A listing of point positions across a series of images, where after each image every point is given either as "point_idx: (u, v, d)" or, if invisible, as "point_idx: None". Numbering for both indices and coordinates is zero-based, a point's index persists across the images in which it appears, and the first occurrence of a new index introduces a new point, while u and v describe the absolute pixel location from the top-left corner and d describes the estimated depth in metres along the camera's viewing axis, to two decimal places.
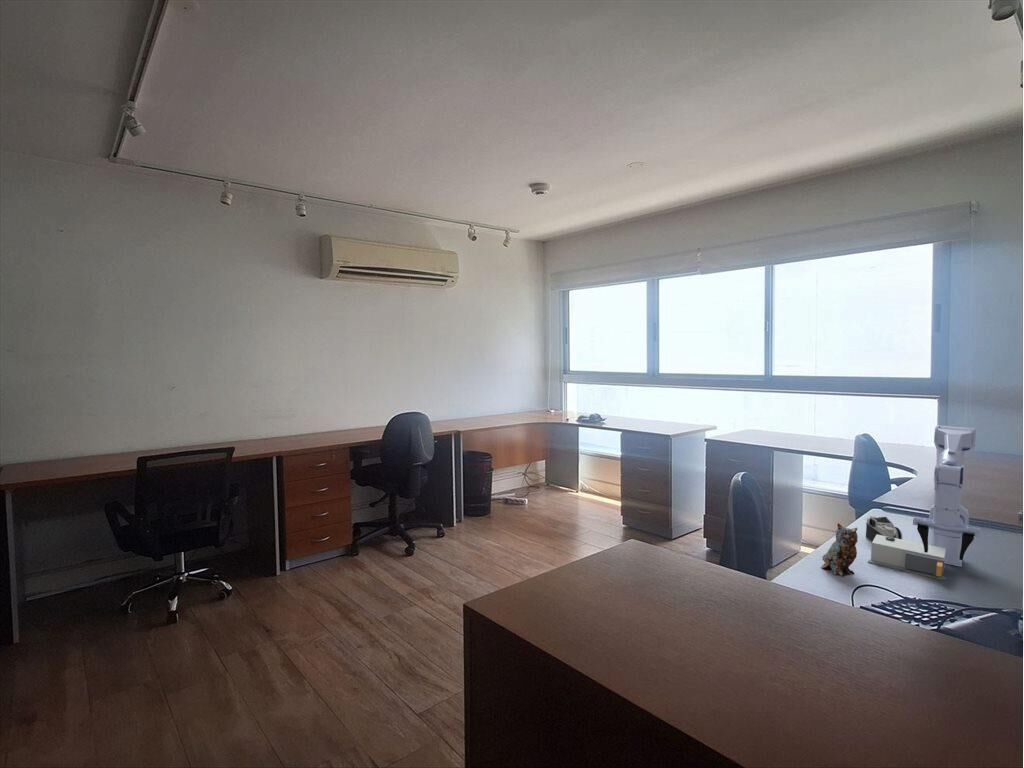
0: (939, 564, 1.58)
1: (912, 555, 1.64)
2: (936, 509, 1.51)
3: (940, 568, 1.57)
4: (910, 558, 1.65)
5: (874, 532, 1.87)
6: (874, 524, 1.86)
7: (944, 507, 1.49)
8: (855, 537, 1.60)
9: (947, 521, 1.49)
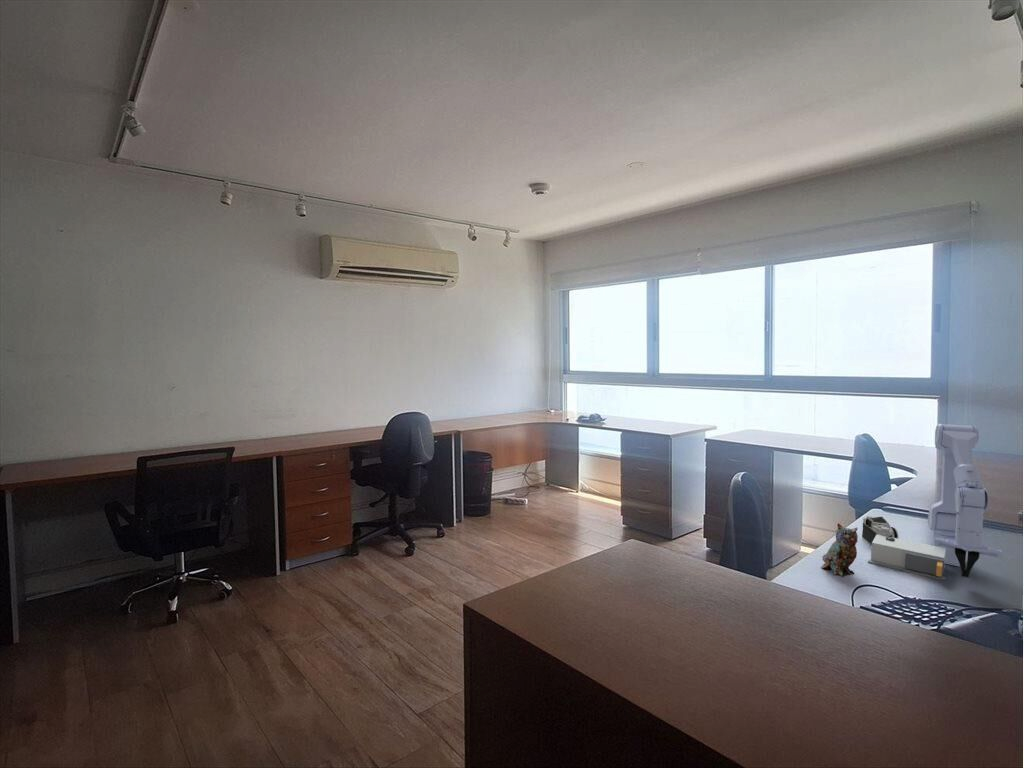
0: (939, 564, 1.58)
1: (912, 555, 1.64)
2: (958, 531, 1.53)
3: (940, 568, 1.57)
4: (910, 558, 1.65)
5: (870, 532, 1.87)
6: (870, 524, 1.86)
7: (969, 529, 1.51)
8: (855, 537, 1.60)
9: (969, 542, 1.51)
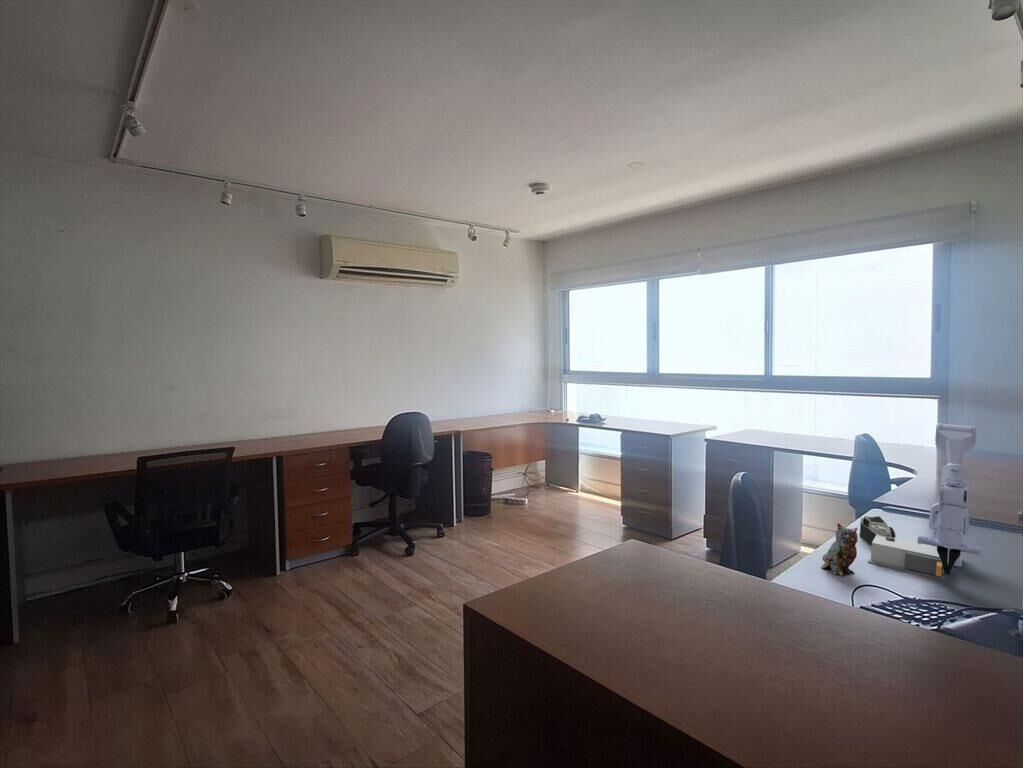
0: (939, 564, 1.58)
1: (912, 555, 1.64)
2: (940, 529, 1.56)
3: (940, 568, 1.57)
4: (910, 558, 1.65)
5: (867, 532, 1.87)
6: (868, 524, 1.86)
7: (948, 527, 1.54)
8: (855, 537, 1.60)
9: (951, 540, 1.54)
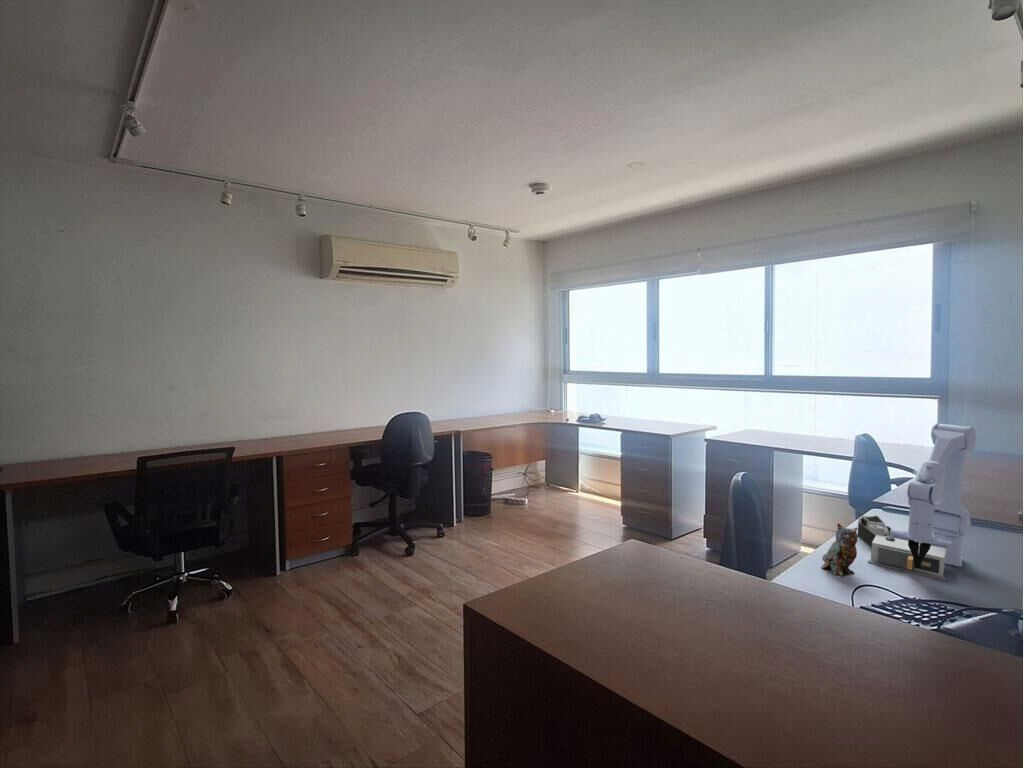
0: (910, 557, 1.63)
1: (885, 549, 1.69)
2: (911, 523, 1.60)
3: (911, 561, 1.61)
4: (883, 552, 1.69)
5: (865, 532, 1.87)
6: (866, 523, 1.87)
7: (915, 521, 1.59)
8: (855, 537, 1.60)
9: (921, 534, 1.58)
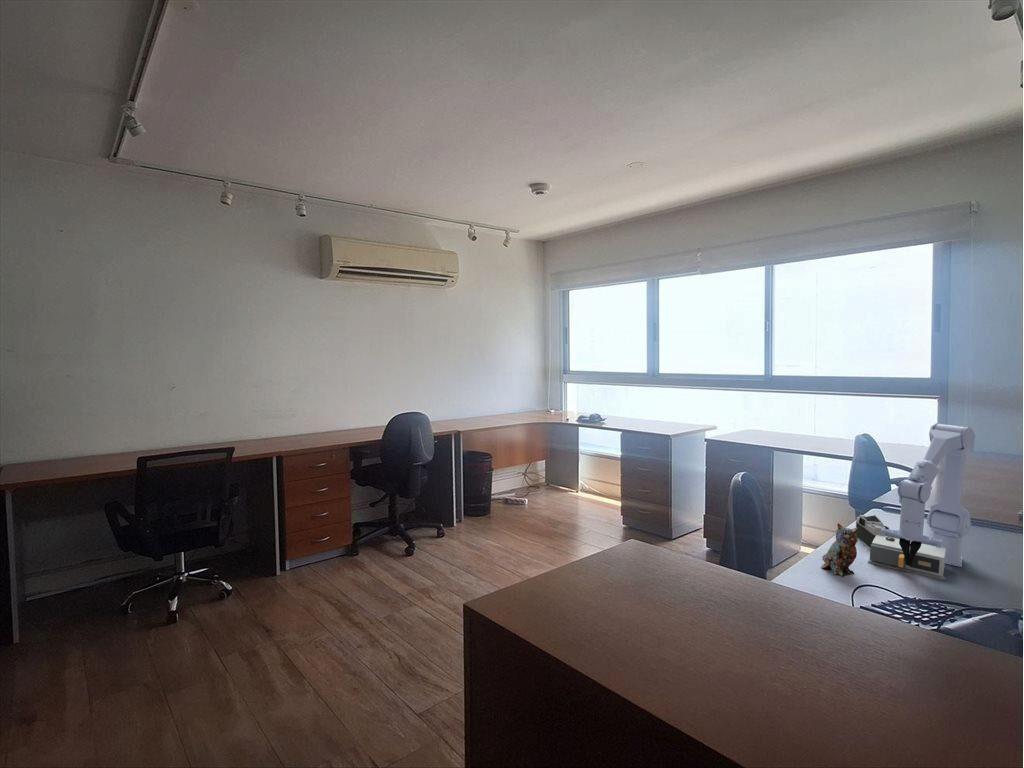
0: (901, 555, 1.64)
1: (876, 547, 1.70)
2: (902, 522, 1.62)
3: (902, 559, 1.63)
4: (875, 550, 1.70)
5: (864, 531, 1.88)
6: (864, 523, 1.87)
7: (905, 519, 1.61)
8: (855, 537, 1.60)
9: (911, 532, 1.60)
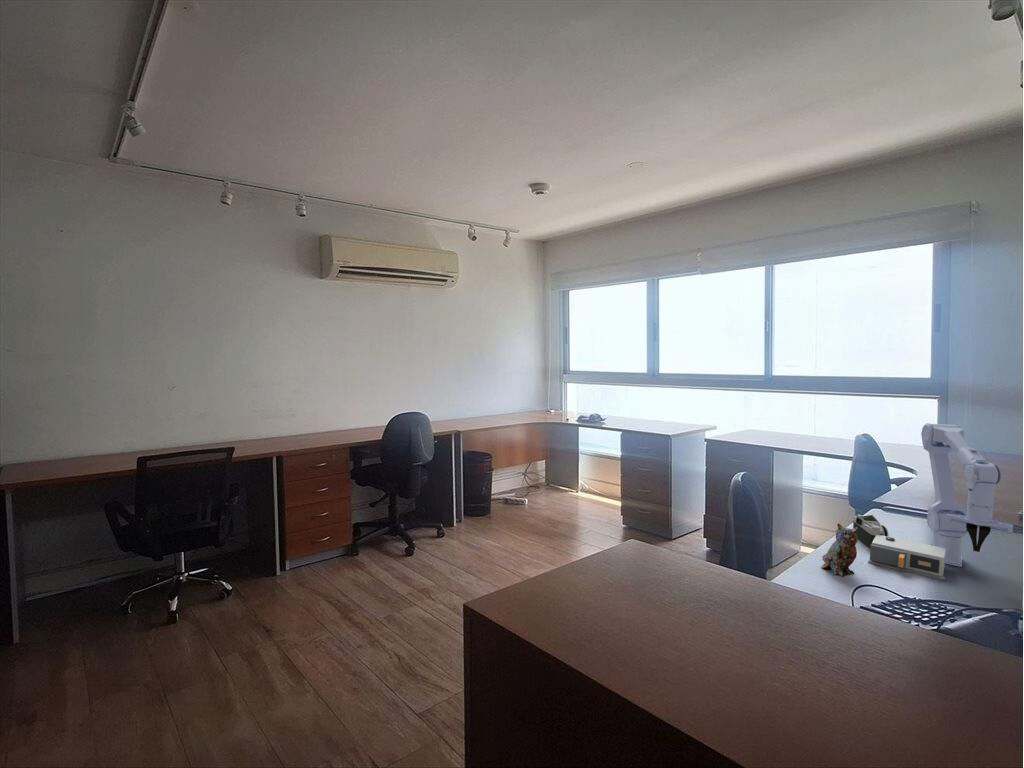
0: (901, 555, 1.64)
1: (876, 547, 1.70)
2: (970, 506, 1.56)
3: (902, 559, 1.63)
4: (875, 550, 1.70)
5: (861, 531, 1.88)
6: (861, 522, 1.87)
7: (984, 505, 1.54)
8: (855, 537, 1.60)
9: (980, 517, 1.54)
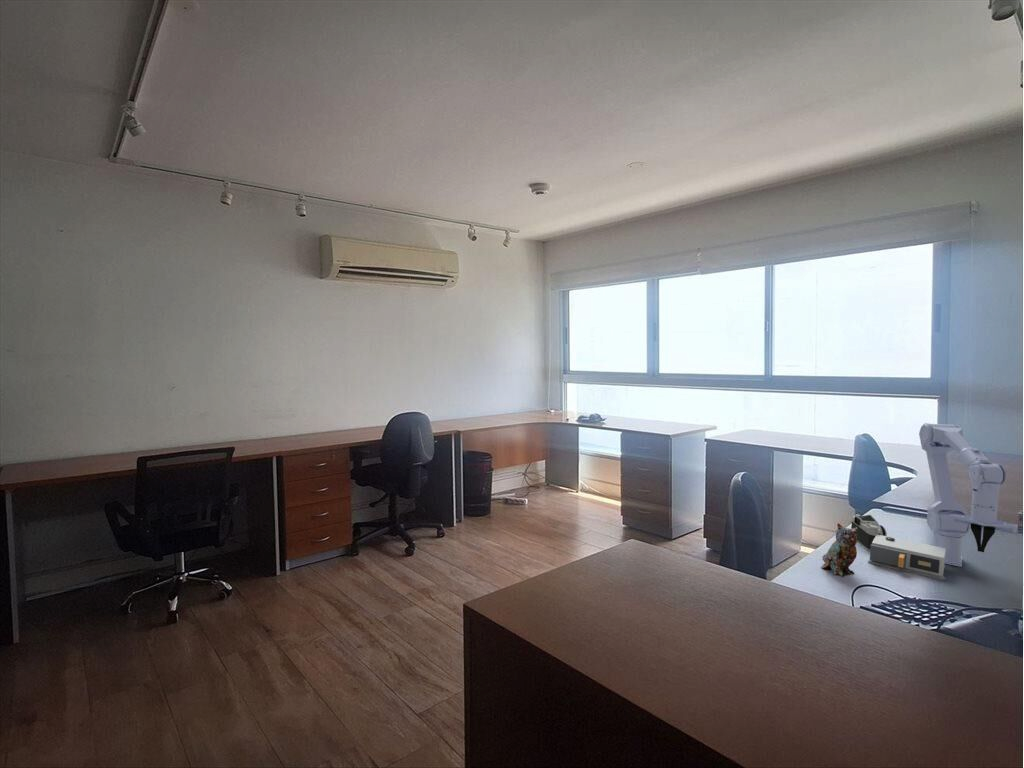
0: (901, 555, 1.64)
1: (876, 547, 1.70)
2: (974, 506, 1.56)
3: (902, 559, 1.63)
4: (875, 550, 1.70)
5: (859, 531, 1.88)
6: (859, 522, 1.87)
7: (989, 505, 1.53)
8: (855, 537, 1.60)
9: (985, 517, 1.54)
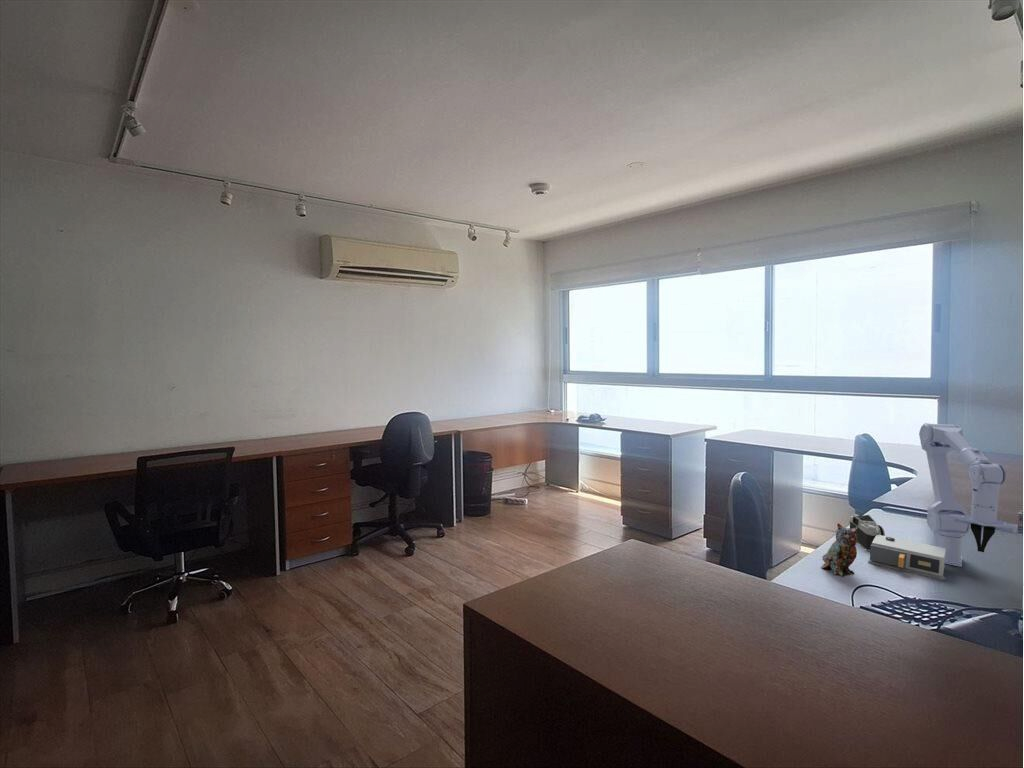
0: (901, 555, 1.64)
1: (876, 547, 1.70)
2: (974, 506, 1.56)
3: (902, 559, 1.63)
4: (875, 550, 1.70)
5: (857, 531, 1.88)
6: (857, 522, 1.88)
7: (989, 505, 1.53)
8: (855, 537, 1.60)
9: (985, 517, 1.54)
